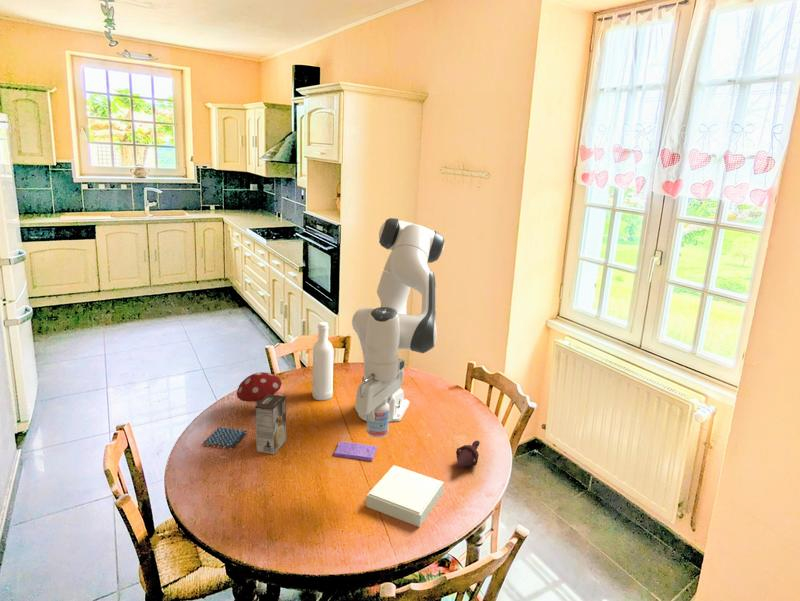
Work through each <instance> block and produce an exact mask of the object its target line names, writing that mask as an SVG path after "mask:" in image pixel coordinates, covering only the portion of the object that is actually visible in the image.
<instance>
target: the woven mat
mask: <svg viewBox="0 0 800 601" xmlns="http://www.w3.org/2000/svg"><path fill="white" fill-rule="evenodd" d="M247 435H248V434H247V430H243V429H239V428H237V429H236V428H230V427H226V426H225V427H223V426H219V427H217V428H216V429H215V430H214V432H212V433H211V434H210V435H209V437H207V438H206V440H204V442H203V447H205V446H206V447H210V448H212V447H213V448H218V449H219V448H220V449H223V450H228V449H229V450H230V451H232V450H233V449H235V448H236V447H237V445H238V444H239V443H240V442H241V440H243V439H244V437H246V436H247Z"/></svg>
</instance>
